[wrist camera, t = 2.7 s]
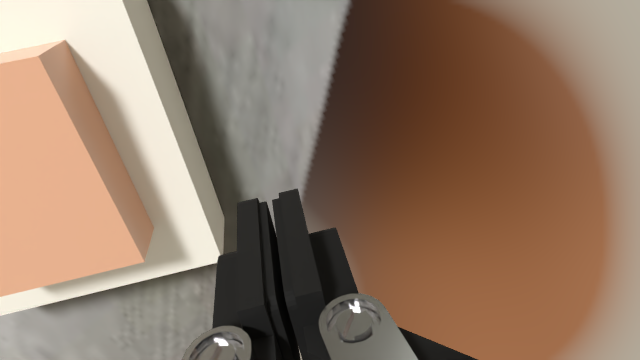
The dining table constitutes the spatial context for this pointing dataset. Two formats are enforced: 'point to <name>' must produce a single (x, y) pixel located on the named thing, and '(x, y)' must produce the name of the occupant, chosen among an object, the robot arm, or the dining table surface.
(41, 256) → the tile
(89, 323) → the dining table surface
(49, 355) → the dining table surface
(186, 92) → the dining table surface
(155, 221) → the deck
